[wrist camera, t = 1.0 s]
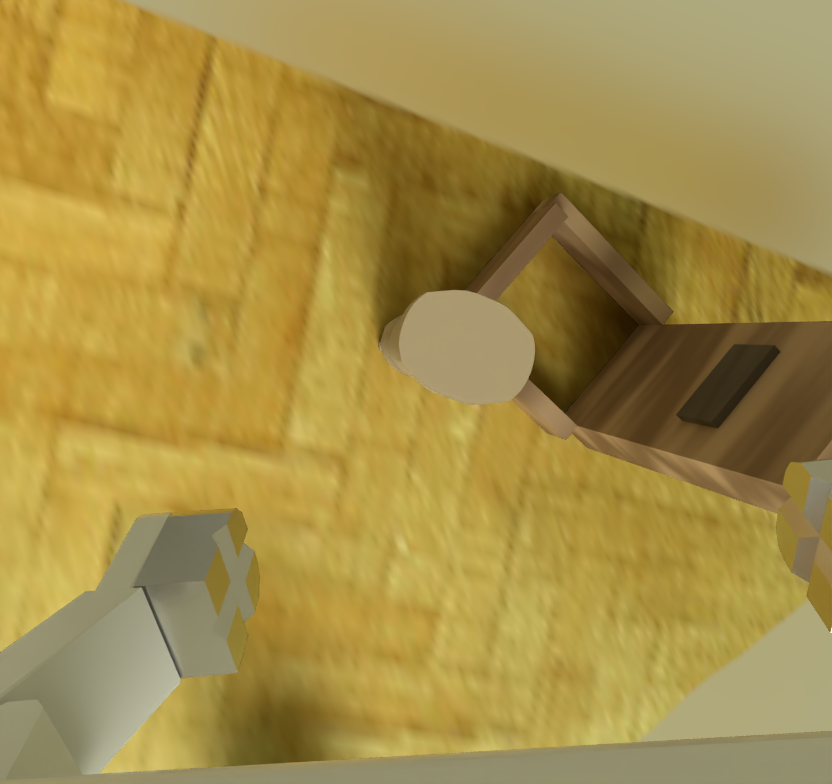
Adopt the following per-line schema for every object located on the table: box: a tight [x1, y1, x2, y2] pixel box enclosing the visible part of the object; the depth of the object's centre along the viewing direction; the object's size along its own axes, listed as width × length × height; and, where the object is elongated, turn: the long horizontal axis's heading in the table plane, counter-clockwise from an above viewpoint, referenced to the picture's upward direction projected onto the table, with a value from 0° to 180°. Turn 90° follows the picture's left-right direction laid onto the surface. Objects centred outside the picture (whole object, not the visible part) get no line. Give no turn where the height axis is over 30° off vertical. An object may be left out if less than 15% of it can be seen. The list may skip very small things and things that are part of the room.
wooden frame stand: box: [465, 192, 832, 514], centre depth 38 cm, size 14×11×22 cm
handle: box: [378, 290, 535, 405], centre depth 39 cm, size 5×6×15 cm
